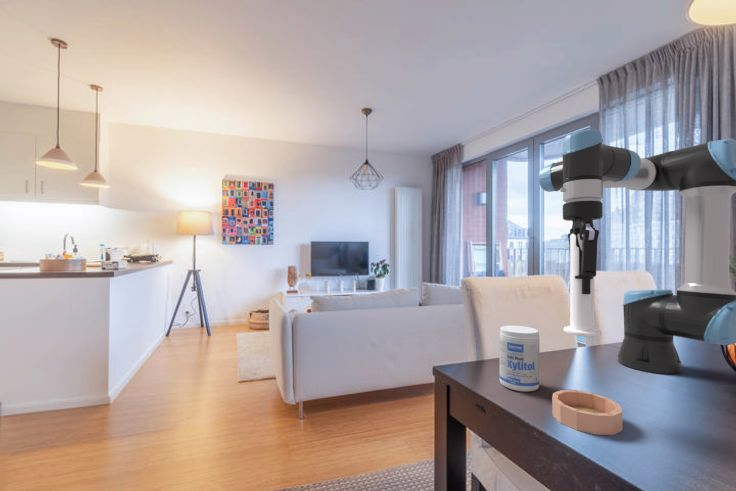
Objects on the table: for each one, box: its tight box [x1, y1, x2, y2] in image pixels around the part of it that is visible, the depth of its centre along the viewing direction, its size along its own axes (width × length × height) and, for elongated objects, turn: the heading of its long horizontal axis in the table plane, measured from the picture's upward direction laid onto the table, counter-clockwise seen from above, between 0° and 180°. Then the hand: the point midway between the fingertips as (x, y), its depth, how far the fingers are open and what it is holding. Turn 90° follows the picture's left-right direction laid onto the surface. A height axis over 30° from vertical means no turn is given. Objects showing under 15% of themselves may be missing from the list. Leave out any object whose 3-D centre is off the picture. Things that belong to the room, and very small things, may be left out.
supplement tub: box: [498, 325, 540, 393], centre depth 89 cm, size 10×10×15 cm
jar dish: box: [551, 389, 624, 436], centre depth 71 cm, size 12×12×4 cm
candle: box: [563, 233, 602, 338], centre depth 75 cm, size 7×7×25 cm
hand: (582, 308), depth 75 cm, fingers closed on candle, 2 cm apart
